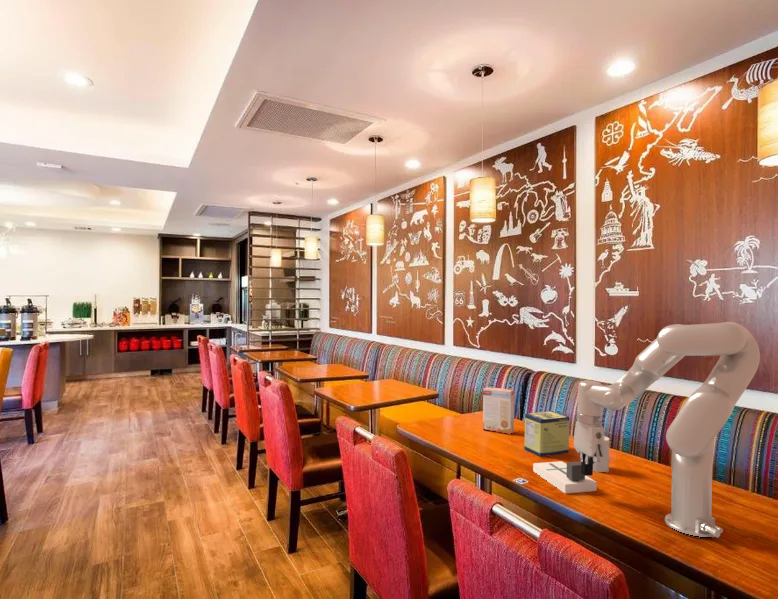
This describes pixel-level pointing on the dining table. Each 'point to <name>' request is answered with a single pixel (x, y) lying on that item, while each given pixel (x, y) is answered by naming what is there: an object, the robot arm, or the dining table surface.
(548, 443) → the protein box
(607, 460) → the white cylinder
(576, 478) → the fader knob
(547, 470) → the fader console
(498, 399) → the cracker box
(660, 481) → the dining table surface
